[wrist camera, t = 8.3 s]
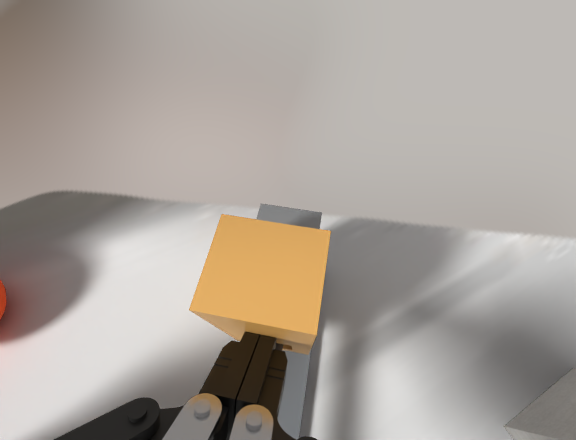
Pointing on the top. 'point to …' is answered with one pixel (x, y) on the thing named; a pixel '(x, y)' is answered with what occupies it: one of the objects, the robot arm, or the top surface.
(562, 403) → the milk carton
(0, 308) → the clementine
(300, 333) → the sleeve
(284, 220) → the gray horizontal rod stand
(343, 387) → the top surface
